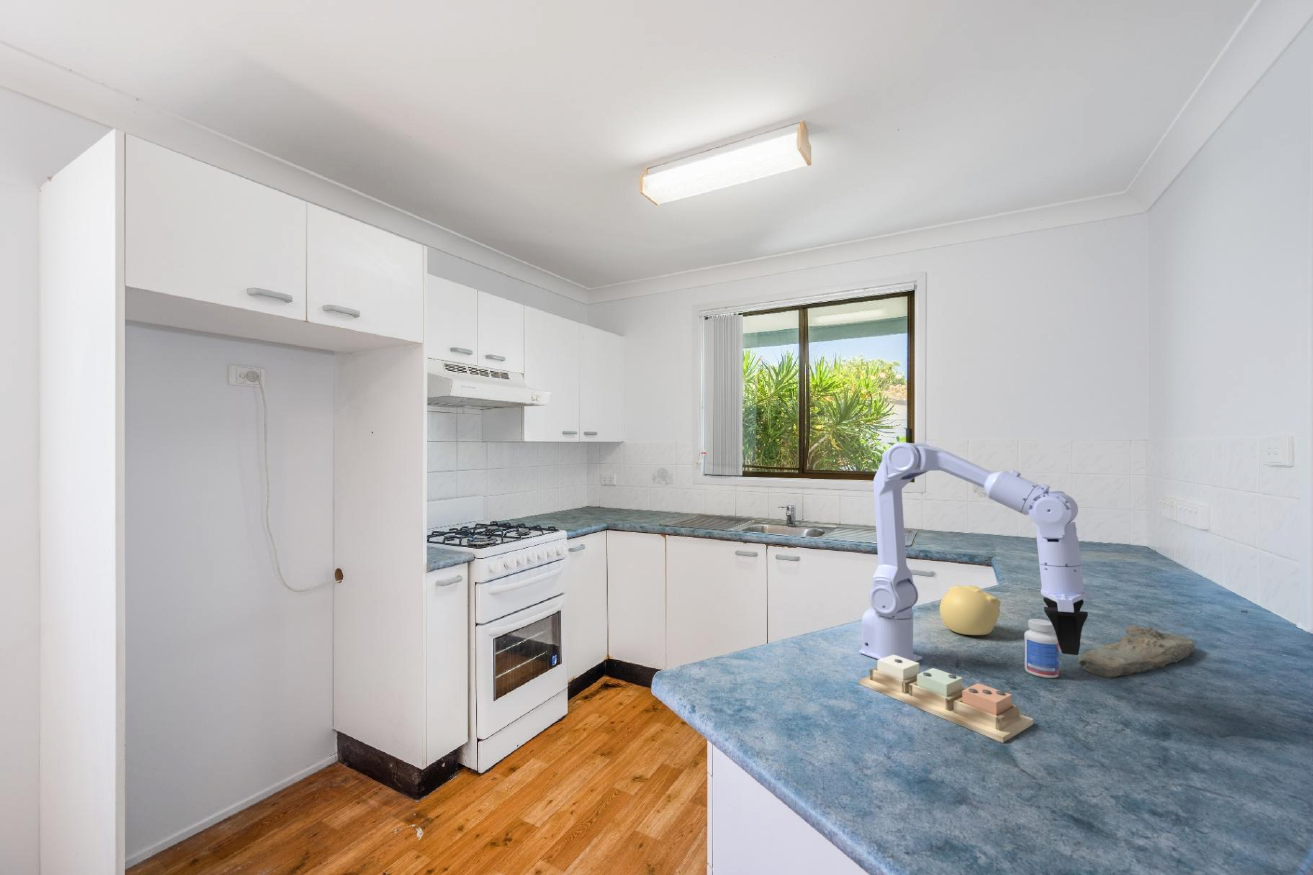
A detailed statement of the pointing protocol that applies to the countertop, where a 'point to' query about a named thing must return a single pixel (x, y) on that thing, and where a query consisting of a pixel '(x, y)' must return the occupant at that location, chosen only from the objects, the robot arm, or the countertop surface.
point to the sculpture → (969, 610)
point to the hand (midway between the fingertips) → (1068, 647)
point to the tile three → (987, 699)
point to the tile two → (939, 682)
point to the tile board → (949, 706)
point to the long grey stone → (1136, 653)
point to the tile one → (898, 667)
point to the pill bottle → (1041, 649)
